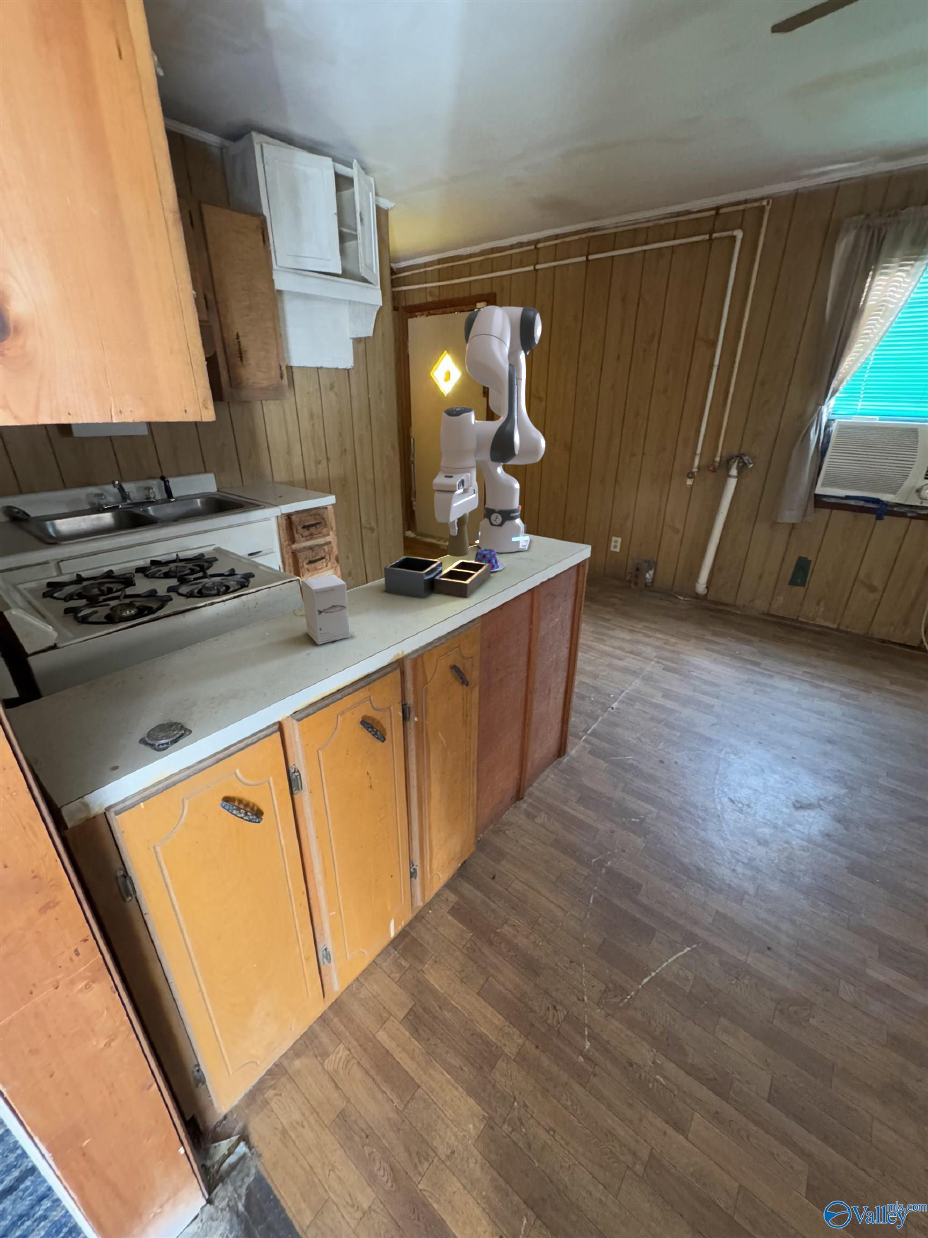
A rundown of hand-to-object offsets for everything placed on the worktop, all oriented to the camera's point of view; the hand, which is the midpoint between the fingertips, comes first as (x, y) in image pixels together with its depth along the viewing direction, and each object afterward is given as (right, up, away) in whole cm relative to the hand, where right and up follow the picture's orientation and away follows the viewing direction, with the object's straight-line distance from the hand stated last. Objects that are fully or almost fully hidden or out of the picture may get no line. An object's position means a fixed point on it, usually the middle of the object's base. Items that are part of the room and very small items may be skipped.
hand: (458, 532), depth 130 cm
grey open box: (-12, -14, +7) cm, 20 cm away
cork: (0, -5, +3) cm, 6 cm away
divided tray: (+1, -13, +10) cm, 16 cm away
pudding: (+8, -7, +24) cm, 26 cm away
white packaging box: (-28, -26, -21) cm, 44 cm away
